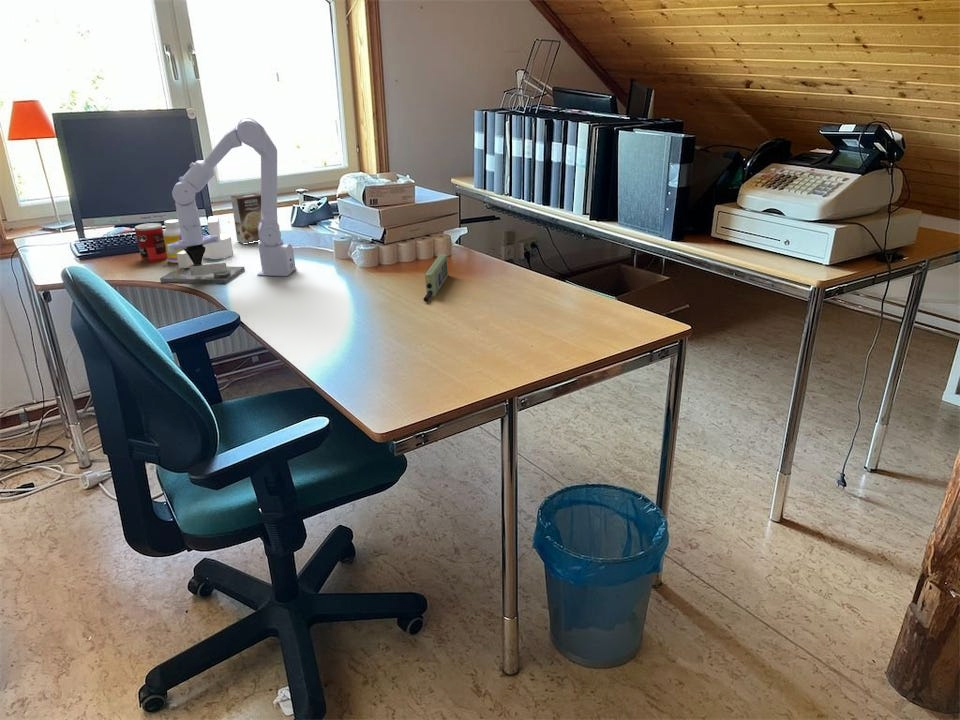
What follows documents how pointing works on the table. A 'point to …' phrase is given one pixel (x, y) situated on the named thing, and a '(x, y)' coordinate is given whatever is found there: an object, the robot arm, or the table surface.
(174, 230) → the supplement bottle
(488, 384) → the table surface
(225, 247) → the base with upright slab
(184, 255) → the cap
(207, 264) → the selector lever
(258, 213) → the coffee box
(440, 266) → the handheld radio
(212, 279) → the console plate
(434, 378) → the table surface
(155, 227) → the canned food
